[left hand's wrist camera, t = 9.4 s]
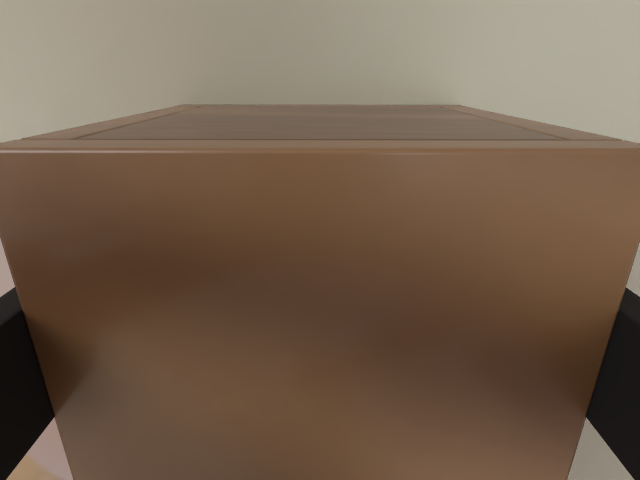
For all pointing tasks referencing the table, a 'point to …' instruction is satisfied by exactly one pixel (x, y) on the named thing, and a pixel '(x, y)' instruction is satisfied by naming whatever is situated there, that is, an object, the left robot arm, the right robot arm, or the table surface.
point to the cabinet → (320, 289)
